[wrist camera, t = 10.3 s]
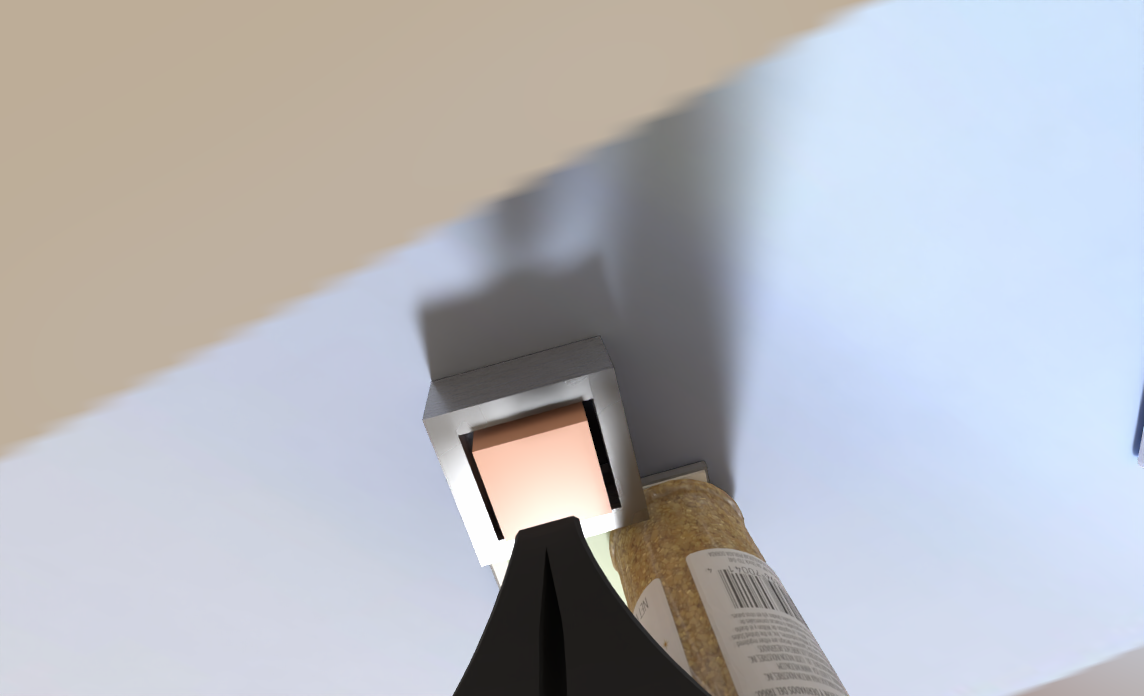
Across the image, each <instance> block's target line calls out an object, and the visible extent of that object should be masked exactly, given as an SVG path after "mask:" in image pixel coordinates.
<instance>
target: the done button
mask: <svg viewBox="0 0 1144 696" xmlns="http://www.w3.org/2000/svg"><path fill="white" fill-rule="evenodd" d="M472 453H473V456H474V459H475V461H476V464H477V467H478V469H479V472H480V475H481V477H482V480H483V483H484V485H485V488H486V491H487V493H488V496H489V499H490V501H491V504H492V507H493V509H494V512H495V515H496V517H497V520H498V523H499V525H500V528H501V531H502V533H503V536H504V539H505V541H506V542H508V541H512V540H515V536H516V534H517V533H518V531H519V530H522V529H526V528H529V527H533V526H536V525H540V524H544V523H547V522H551V521H555V520H558V519H562V518H566V517H569V516H575V517H577V518H579V519H580V521H584V520H588V519H591V518H595V517H598V516H602V515H606V514H609V513H612V510H611V506H610V502H609V499H608V495H607V491H606V488H605V484H604V480H603V477H602V473H601V469H600V466H599V462H598V458H597V454H596V451H595V447H594V443H593V440H592V436H591V432H590V429H589V425H588V421H587V418H586V414H585V411H584V407H583V404H582V402H578V403H575V404H571V405H568V406H564V407H560V408H557V409H553V410H549V411H546V412H542V413H538V414H535V415H531V416H527V417H524V418H520V419H517V420H513V421H509V422H506V423H502V424H498V425H495V426H491V427H487V428H484V429H480V430H477V431H474V433H473V447H472Z"/></svg>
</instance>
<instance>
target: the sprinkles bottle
mask: <svg viewBox="0 0 1144 696" xmlns="http://www.w3.org/2000/svg"><path fill="white" fill-rule="evenodd" d="M643 492H644V496H645V500H646V504H647V508H648V513H649V517H650V520H646V521H643V522H639V523H636V524H632V525H628V526H625V527H621V528H618V529H614V530H612V531H611V533H610V538H609V551H610V556H611V560H612V564H613V567H614V569H615V570H616V571H617V572H618V574H619V577H620V581H621V584H622V588H623V592H624V595H625V598H626V601H627V606H628V608H629V609H630V611H631V612H632V613H633V615H634V616H635V617H636V618H637V620H638V621H639V622H640V623H641V624H642V626H643V627H644V628H645V629H646V630H647V631H648V633H649V634H650V635H651V636H652V637H653V638H654V639H655V641H656V642H657V643H658V644H659V645H660V646H661V647H662V648H663V649H664V650H665V651H666V652H667V653H668V654H669V656H670V657H671V658H672V659H673V660H674V661H675V662H676V663H677V664H678V665H680V666H681V667H682V668H683V669H684V670H685V671H686V672H687V673H688V674H689V675H690V676H691V677H692V678H693V679H694V680H695V681H696V682H697V683H699V684H700V685H701V686H702V687H703V688H704V689H705V690H706V691H707V692H708V693H709V694H711V695H712V696H849V694H848V693H847V691H846V689H845V688H844V686H843V684H842V683H841V681H840V679H839V677H838V676H837V674H836V672H835V671H834V669H833V667H832V666H831V664H830V663H829V661H828V659H827V658H826V656H825V654H824V653H823V651H822V649H821V648H820V646H819V644H818V643H817V641H816V639H815V638H814V636H813V634H812V633H811V631H810V629H809V628H808V626H807V624H806V623H805V621H804V619H803V618H802V616H801V615H800V613H799V611H798V610H797V608H796V606H795V605H794V603H793V601H792V600H791V598H790V596H789V595H788V593H787V591H786V590H785V588H784V586H783V585H782V583H781V581H780V580H779V578H778V577H777V575H776V574H775V572H774V571H773V570H772V569H771V568H770V567H769V566H768V565H767V564H766V561H765V559H764V558H763V556H762V555H761V553H760V551H759V549H758V548H757V546H756V545H755V543H754V541H753V539H752V538H751V536H750V535H749V533H748V531H747V529H746V527H745V525H744V518H743V515H742V513H741V511H740V509H739V507H738V505H737V504H736V502H735V501H734V500H733V499H732V498H731V497H730V496H729V495H728V494H727V493H726V492H725V491H723V490H722V489H720V488H717V487H716V486H714V485H713V484H710V483H707V482H703V481H698V480H693V479H677V480H670V481H666V482H664V483H661V484H658V485H654V486H652V487H649V488H647V489H645V490H643Z"/></svg>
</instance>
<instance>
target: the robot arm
mask: <svg viewBox="0 0 1144 696" xmlns="http://www.w3.org/2000/svg"><path fill="white" fill-rule="evenodd" d="M1138 465H1139V466H1140V467H1141V468H1143V469H1144V428H1143V433H1142V439H1141V444H1140V450H1139V455H1138ZM453 696H712V695H711V694H709V693H708V692H707V691H706V690H705V689H704V688H703V687H702V686H701V685H700V684H699V683H697V682H696V681H695V680H694V679H693V678H692V677H691V676H690V675H689V674H688V673H687V672H686V671H685V670H684V669H683V668H682V667H681V666H680V665H678V664H677V663H676V662H675V661H674V660H673V659H672V658H671V657H670V656H669V654H668V653H667V652H666V651H665V650H664V649H663V648H662V647H661V646H660V645H659V644H658V643H657V642H656V641H655V639H654V638H653V637H652V636H651V635H650V634H649V633H648V631H647V630H646V629H645V628H644V627H643V626H642V624H641V623H640V622H639V621H638V620H637V618H636V617H635V616H634V615H633V613H632V612H631V611H630V609H629V608H628V607H627V605H626V604H625V603H624V601H623V600H622V599H621V597H620V596H619V595H618V593H617V592H616V590H615V589H614V588H613V586H612V585H611V583H610V582H609V580H608V578H607V577H606V575H605V574H604V572H603V570H602V569H601V567H600V566H599V564H598V562H597V561H596V559H595V557H594V555H593V553H592V551H591V549H590V547H589V546H588V543H587V541H586V539H585V536H584V533H583V529H582V526H581V523H580V519H579V518H577V517H575V516H569V517H566V518H562V519H558V520H555V521H551V522H547V523H544V524H540V525H536V526H533V527H529V528H526V529H522V530H519V531H518V533H517V534H516V536H515V541H514V545H513V549H512V553H511V556H510V560H509V563H508V567H507V570H506V573H505V576H504V579H503V582H502V585H501V588H500V591H499V593H498V596H497V599H496V602H495V605H494V607H493V610H492V613H491V615H490V618H489V620H488V622H487V625H486V627H485V629H484V632H483V634H482V637H481V639H480V641H479V644H478V646H477V648H476V650H475V653H474V655H473V657H472V659H471V661H470V663H469V665H468V667H467V669H466V671H465V673H464V675H463V677H462V679H461V681H460V683H459V685H458V687H457V688H456V690H455V692H454V694H453Z"/></svg>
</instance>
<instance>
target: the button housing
mask: <svg viewBox="0 0 1144 696" xmlns="http://www.w3.org/2000/svg"><path fill="white" fill-rule="evenodd" d="M589 399H591V400H592V403H593V407H594V411H595V415H596V419H597V422H598V426H599V430H600V434H601V438H602V441H603V445H604V449H605V453H606V457H607V460H608V463H607V464H603V465H599V466H600V469H601V473H602V477H603V480H604V484H605V488H606V491H607V495H608V499H609V502H610V506H611V510H612V513H609V514H606V515H602V516H598V517H595V518H591V519H588V520H584V521H580V523H581V526H582V529H583V533H584V536H585V537H589V536H592V535H596V534H600V533H603V532H607V531H610V530H614V529H618V528H621V527H625V526H628V525H632V524H636V523H639V522H643V521H646V520H650V517H649V513H648V508H647V504H646V500H645V496H644V492H643V487H642V483H641V479H640V475H639V471H638V466H637V462H636V458H635V454H634V450H633V446H632V441H631V437H630V433H629V429H628V425H627V420H626V416H625V412H624V408H623V404H622V400H621V395H620V391H619V387H618V383H617V379H616V374H615V370H614V367H613V364H612V362H611V360H610V358H609V355H608V353H607V351H606V349H605V346H604V344H603V342H602V339H601V337H600V336H597V337H593V338H590V339H586V340H582V341H579V342H575V343H571V344H568V345H564V346H561V347H557V348H553V349H550V350H546V351H542V352H539V353H535V354H531V355H528V356H524V357H520V358H517V359H513V360H509V361H506V362H502V363H498V364H495V365H491V366H487V367H484V368H480V369H476V370H473V371H469V372H465V373H462V374H458V375H454V376H451V377H447V378H443V379H440V380H436V381H432V382H431V385H430V390H429V394H428V398H427V402H426V407H425V411H424V415H423V419H422V420H423V423H424V425H425V428H426V430H427V433H428V435H429V438H430V440H431V443H432V445H433V447H434V450H435V452H436V455H437V457H438V460H439V462H440V465H441V467H442V470H443V472H444V475H445V477H446V480H447V482H448V484H449V487H450V489H451V492H452V494H453V497H454V499H455V502H456V504H457V507H458V509H459V512H460V514H461V517H462V519H463V521H464V524H465V526H466V529H467V531H468V534H469V536H470V539H471V541H472V544H473V546H474V549H475V551H476V553H477V556H478V558H479V561H480V563H481V566H484V565H488V564H492V563H495V562H499V561H502V560H506V559H510V556H511V553H512V549H513V545H514V541H515V540H512V541H508V542H506V541H505V539H504V536H503V533H502V531H501V528H500V525H499V523H498V520H497V517H496V515H495V512H494V509H493V507H492V504H491V501H490V499H489V496H488V493H487V491H486V488H485V485H484V483H483V480H482V477H481V475H480V472H479V469H478V467H477V464H476V461H475V459H474V456H473V453H472V447H473V433H474V431H477V430H480V429H484V428H487V427H491V426H495V425H498V424H502V423H506V422H509V421H513V420H517V419H520V418H524V417H527V416H531V415H535V414H538V413H542V412H546V411H549V410H553V409H557V408H560V407H564V406H568V405H571V404H575V403H578V402H582V401H586V400H589Z"/></svg>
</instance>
